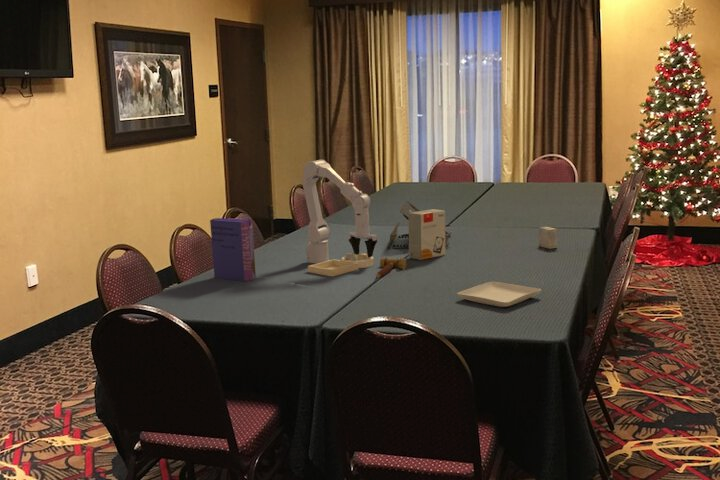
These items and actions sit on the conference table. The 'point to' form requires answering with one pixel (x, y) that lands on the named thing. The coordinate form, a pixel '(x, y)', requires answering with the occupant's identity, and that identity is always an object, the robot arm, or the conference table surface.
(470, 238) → the conference table surface
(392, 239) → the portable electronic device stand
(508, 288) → the salad plate
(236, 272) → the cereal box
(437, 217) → the hard drive box
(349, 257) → the stone
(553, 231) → the medicine box
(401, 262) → the gavel
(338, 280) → the conference table surface
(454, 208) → the conference table surface
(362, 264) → the bowl
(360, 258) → the stone
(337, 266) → the tray
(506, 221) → the conference table surface
